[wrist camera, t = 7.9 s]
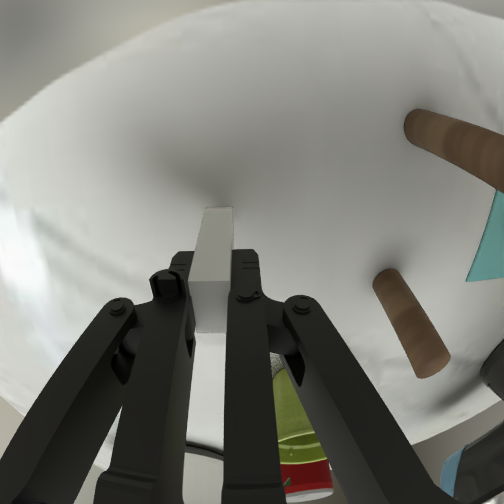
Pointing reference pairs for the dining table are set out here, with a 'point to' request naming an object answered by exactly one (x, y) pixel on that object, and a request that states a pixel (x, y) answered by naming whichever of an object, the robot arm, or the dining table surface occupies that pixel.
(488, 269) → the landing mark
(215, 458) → the pot
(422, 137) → the post near
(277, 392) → the plant pot
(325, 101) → the dining table surface
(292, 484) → the canned food
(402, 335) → the post far
